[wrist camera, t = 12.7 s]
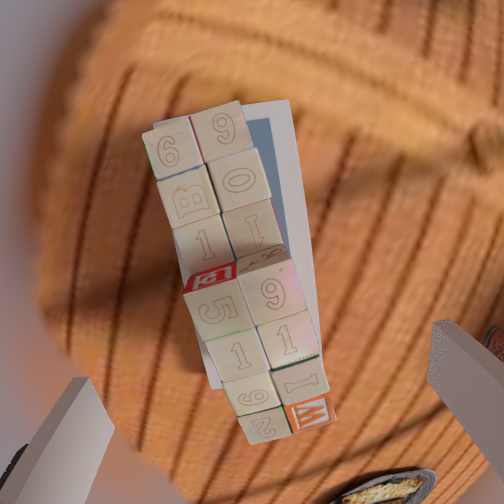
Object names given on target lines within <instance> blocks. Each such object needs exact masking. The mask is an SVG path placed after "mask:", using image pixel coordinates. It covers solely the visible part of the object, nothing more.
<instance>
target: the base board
mask: <svg viewBox="0 0 504 504" xmlns="http://www.w3.org/2000/svg"><path fill="white" fill-rule="evenodd" d="M241 107H242V110H243V113H244V116H245V119H246V122H247V125H248V129H249V132H250V135H251V138H252V141H253V144H254V146H255V147H256V148H257V149H258V152H259V155H260V159H261V162H262V165H263V168H264V171H265V174H266V177H267V181H268V184H269V188H270V191H271V194H272V196H271V201H272V204H273V207H274V211H275V214H276V218H277V221H278V224H279V228H280V231H281V235H282V238H283V241H284V245H285V247H286V249H287V250H288V252H289V254H290V256H291V257H292V259H293V261H294V265H295V268H296V271H297V275H298V278H299V281H300V285H301V288H302V291H303V294H304V298H305V301H306V305H307V309H308V311H309V313H310V316H311V319H312V323H313V326H314V330H315V333H316V337H317V340H318V343H319V347H320V352H319V355H320V357H321V360H322V348H321V336H320V324H319V313H318V303H317V293H316V283H315V274H314V265H313V256H312V248H311V240H310V232H309V224H308V216H307V209H306V202H305V195H304V188H303V181H302V175H301V168H300V162H299V155H298V149H297V143H296V137H295V131H294V126H293V120H292V114H291V109H290V103H289V99H288V100H279V101H270V102H262V103H255V104H248V105H241ZM191 115H192V114H191ZM189 116H190V115H186V116H182V117H177V118H173V119H168V120H164V121H160V122H156V123H153V127H154V129H156V128H158V127H161V126H164V125H166V124H169V123H171V122H174V121H177V120H180V119H183V118H186V117H189ZM171 229H172V227H171ZM172 234H173V230H172ZM173 239H174V243H175V248H176V253H177V257H178V262H179V266H180V271H181V275H182V279H183V283H184V288H185V286H186V284H187V281H188V279H189V277H190V276H191V275H190V274H189V272H188V270H187V268H186V266H185V263H184V261H183V258H182V256H181V253H180V251H179V248H178V245H177V243H176V240H175V237H174V234H173ZM192 320H193V319H192ZM193 324H194V321H193ZM194 328H195V332H196V336H197V339H198V343H199V347H200V350H201V354H202V358H203V361H204V365H205V368H206V372H207V375H208V379H209V382H210V386H211V389H221V388H223V387H222V384H221V378H220V376H219V374H218V372H217V370H216V368H215V365H214V363H213V361H212V359H211V357H210V355H209V353H208V350H207V348H206V345H205V343H204V341H202V340H201V337H200V335H199V333H198V330H197V328H196V326H195V324H194ZM322 364H323V361H322Z"/></svg>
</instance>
